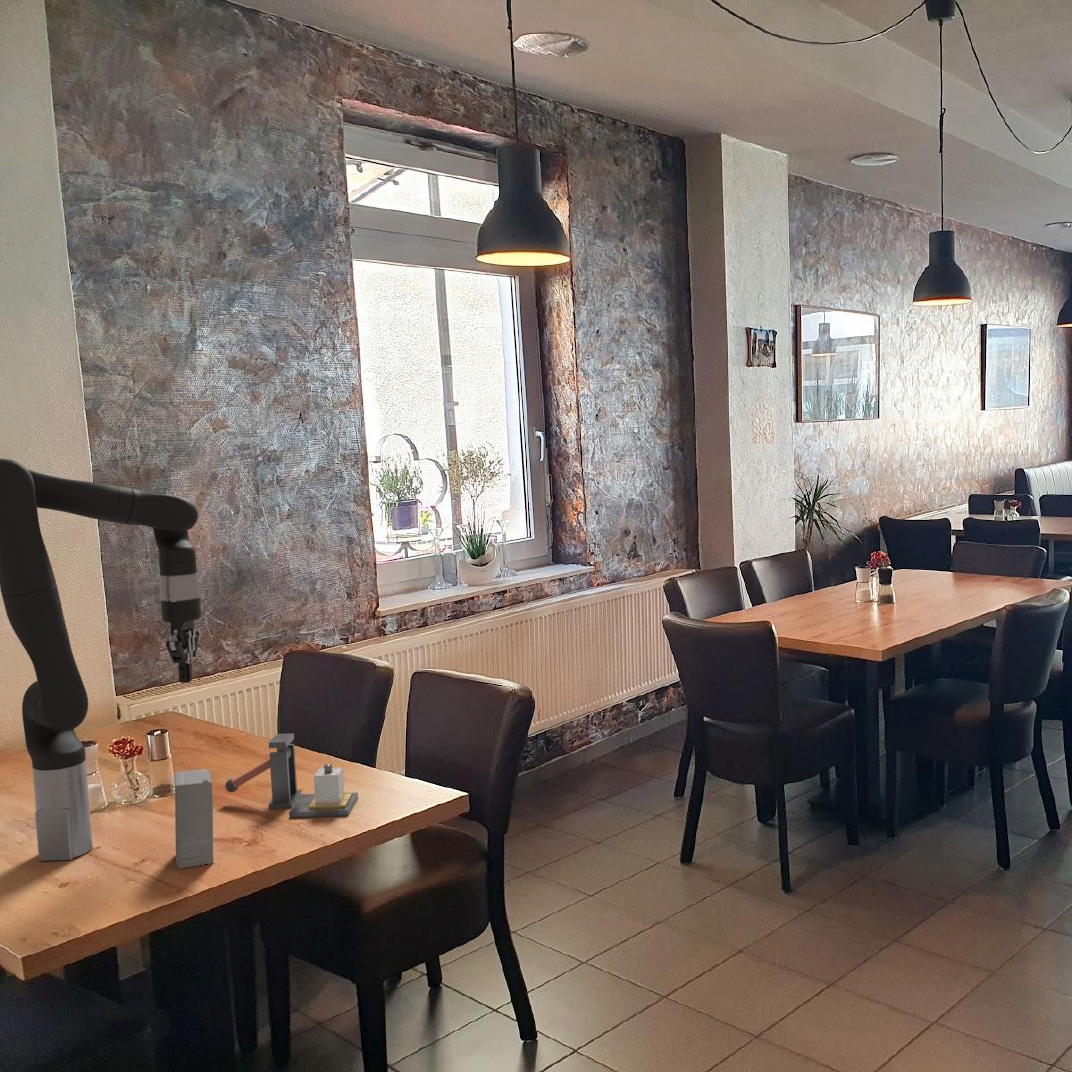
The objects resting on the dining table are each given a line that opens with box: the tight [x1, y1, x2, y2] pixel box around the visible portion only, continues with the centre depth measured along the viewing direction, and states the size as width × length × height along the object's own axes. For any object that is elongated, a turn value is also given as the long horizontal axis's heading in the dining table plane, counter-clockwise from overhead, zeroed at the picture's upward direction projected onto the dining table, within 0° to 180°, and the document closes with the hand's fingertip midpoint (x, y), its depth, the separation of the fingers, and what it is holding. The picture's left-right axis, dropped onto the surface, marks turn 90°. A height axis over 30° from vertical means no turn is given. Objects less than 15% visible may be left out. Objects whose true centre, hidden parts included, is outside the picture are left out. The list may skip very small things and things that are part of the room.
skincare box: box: [173, 768, 214, 870], centre depth 191 cm, size 8×7×16 cm
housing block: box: [313, 763, 345, 804], centre depth 216 cm, size 5×5×7 cm
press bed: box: [268, 732, 359, 819], centre depth 219 cm, size 15×18×14 cm
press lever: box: [224, 747, 292, 793], centre depth 222 cm, size 4×16×3 cm, turn 89°
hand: (186, 681), depth 210 cm, fingers closed
